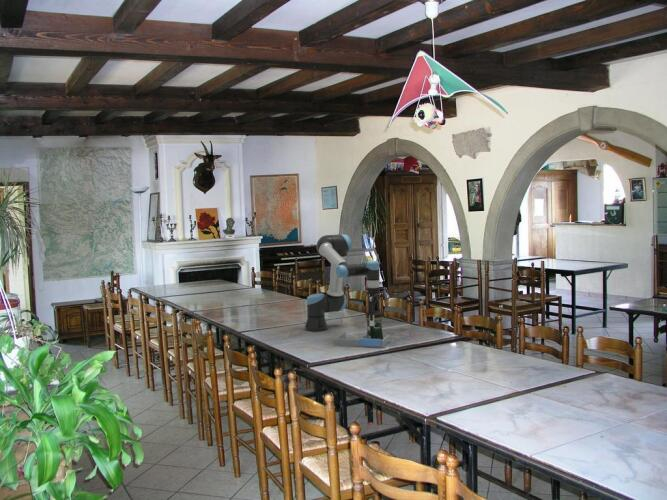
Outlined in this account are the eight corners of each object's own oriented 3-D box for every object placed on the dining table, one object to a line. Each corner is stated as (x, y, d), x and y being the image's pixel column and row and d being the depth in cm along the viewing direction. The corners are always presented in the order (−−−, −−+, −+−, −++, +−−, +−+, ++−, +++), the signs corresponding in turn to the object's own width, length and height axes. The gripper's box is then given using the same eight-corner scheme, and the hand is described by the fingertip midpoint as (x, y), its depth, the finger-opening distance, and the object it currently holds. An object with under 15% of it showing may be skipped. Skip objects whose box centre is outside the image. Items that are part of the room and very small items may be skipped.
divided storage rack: (343, 339, 403) (342, 331, 402) (390, 341, 393) (390, 333, 392) (333, 345, 386) (333, 337, 386) (383, 348, 376) (383, 340, 376)
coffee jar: (378, 339, 395) (378, 309, 393) (385, 342, 388) (384, 311, 386) (364, 341, 391) (363, 310, 390) (370, 343, 384) (369, 312, 382)
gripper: (372, 284, 398) (373, 320, 400) (362, 289, 377) (363, 327, 379) (384, 284, 396) (385, 320, 398) (374, 289, 375) (375, 328, 377)
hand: (374, 324), depth 389 cm, fingers closed on coffee jar, 10 cm apart
